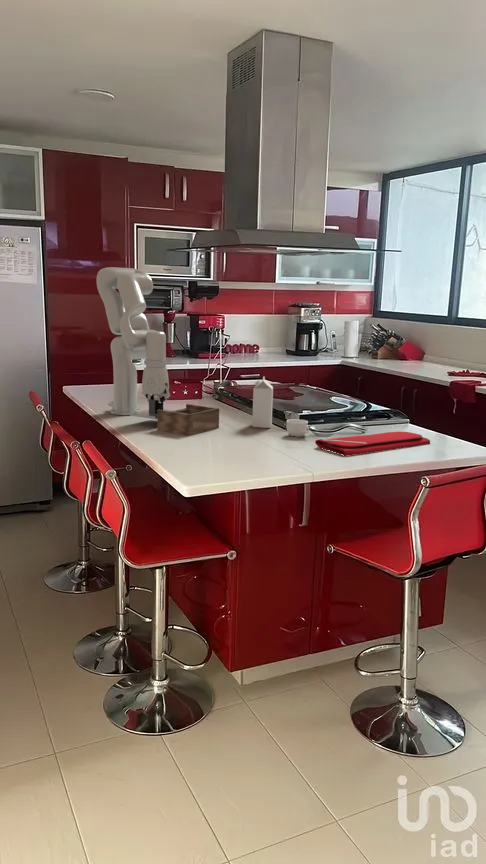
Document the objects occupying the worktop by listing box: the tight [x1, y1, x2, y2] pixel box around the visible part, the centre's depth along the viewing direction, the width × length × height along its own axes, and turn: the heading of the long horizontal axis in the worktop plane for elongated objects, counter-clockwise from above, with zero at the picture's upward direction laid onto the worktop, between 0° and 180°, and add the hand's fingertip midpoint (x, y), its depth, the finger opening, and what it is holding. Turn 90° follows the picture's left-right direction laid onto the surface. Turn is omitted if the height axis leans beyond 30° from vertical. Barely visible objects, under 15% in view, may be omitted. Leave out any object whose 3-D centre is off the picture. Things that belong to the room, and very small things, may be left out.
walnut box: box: [156, 403, 220, 436], centre depth 257 cm, size 15×18×8 cm
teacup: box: [286, 418, 310, 438], centre depth 250 cm, size 10×8×5 cm
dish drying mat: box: [314, 431, 431, 457], centre depth 239 cm, size 16×41×4 cm, turn 125°
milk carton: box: [251, 375, 274, 429], centre depth 265 cm, size 7×7×19 cm
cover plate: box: [129, 397, 174, 420], centre depth 265 cm, size 13×15×6 cm
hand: (156, 411), depth 265 cm, fingers closed on cover plate, 3 cm apart
